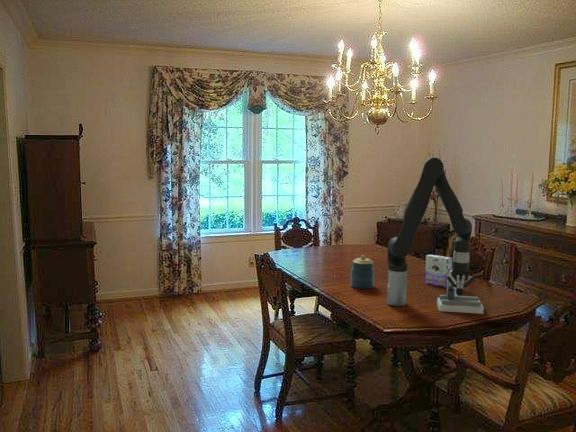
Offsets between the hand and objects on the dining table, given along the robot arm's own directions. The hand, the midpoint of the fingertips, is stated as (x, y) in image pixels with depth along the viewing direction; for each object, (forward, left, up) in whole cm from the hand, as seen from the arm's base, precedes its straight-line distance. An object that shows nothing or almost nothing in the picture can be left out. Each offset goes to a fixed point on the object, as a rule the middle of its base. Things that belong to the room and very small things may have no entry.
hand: (459, 295), depth 254 cm
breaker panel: (0, 0, -6) cm, 7 cm away
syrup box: (0, +18, -7) cm, 19 cm away
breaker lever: (-4, 0, -3) cm, 5 cm away
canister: (-48, +31, -7) cm, 57 cm away
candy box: (-6, +43, -7) cm, 44 cm away
